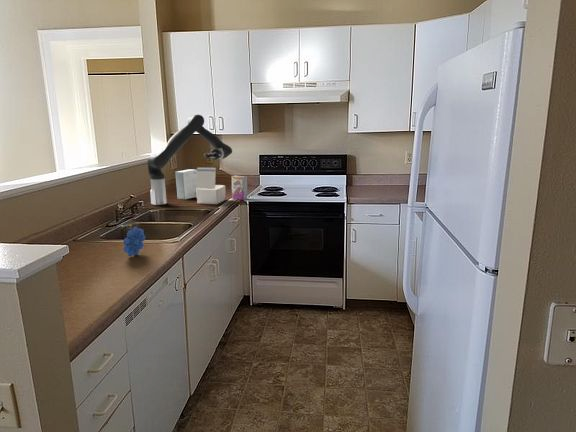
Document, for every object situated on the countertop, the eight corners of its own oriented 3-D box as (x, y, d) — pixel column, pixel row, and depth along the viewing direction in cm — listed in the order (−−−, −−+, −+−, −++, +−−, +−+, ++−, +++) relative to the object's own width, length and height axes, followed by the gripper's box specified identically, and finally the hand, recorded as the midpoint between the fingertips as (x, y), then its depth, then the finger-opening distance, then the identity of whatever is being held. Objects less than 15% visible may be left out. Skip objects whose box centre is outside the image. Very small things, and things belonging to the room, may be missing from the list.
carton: (217, 204, 283) (217, 189, 281) (196, 203, 286) (195, 188, 284) (226, 199, 299) (225, 185, 297) (206, 199, 302) (205, 184, 300)
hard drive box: (192, 195, 317) (190, 169, 312) (199, 196, 313) (198, 169, 309) (176, 198, 304) (175, 171, 299) (184, 199, 300) (182, 172, 296)
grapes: (138, 249, 185) (136, 223, 182) (150, 251, 182) (147, 225, 179) (117, 257, 175) (114, 229, 172) (129, 259, 172) (126, 231, 169)
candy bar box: (231, 198, 303) (230, 176, 299) (236, 197, 307) (235, 175, 304) (243, 200, 297) (242, 177, 293) (248, 199, 301) (247, 176, 298)
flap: (214, 188, 280) (215, 167, 279) (196, 188, 283) (197, 167, 282) (215, 188, 281) (215, 167, 280) (197, 188, 283) (197, 167, 283)
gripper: (208, 148, 299) (198, 150, 283) (225, 148, 297) (216, 150, 280) (208, 159, 301) (198, 161, 284) (226, 159, 298) (217, 161, 282)
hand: (207, 156), depth 282 cm, fingers closed
